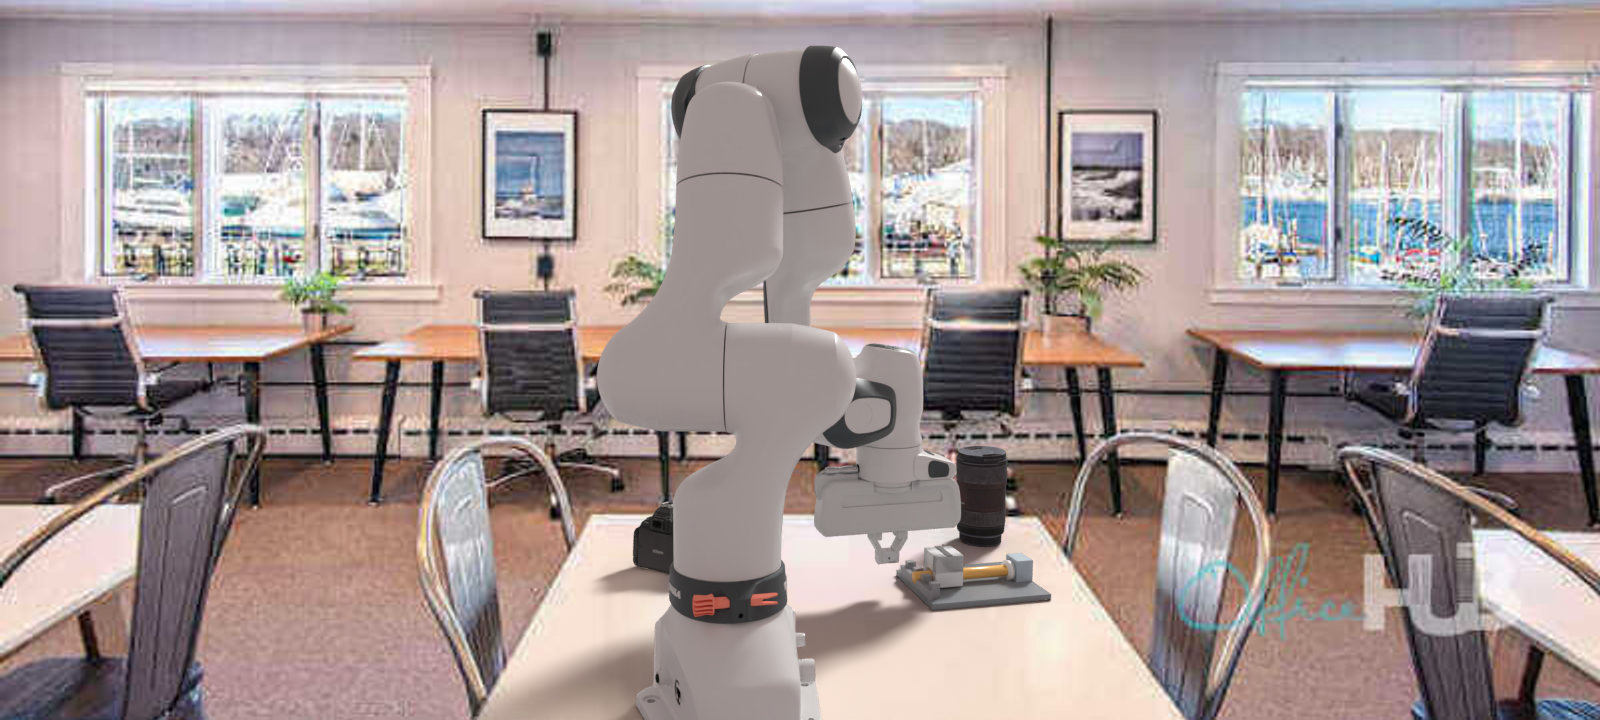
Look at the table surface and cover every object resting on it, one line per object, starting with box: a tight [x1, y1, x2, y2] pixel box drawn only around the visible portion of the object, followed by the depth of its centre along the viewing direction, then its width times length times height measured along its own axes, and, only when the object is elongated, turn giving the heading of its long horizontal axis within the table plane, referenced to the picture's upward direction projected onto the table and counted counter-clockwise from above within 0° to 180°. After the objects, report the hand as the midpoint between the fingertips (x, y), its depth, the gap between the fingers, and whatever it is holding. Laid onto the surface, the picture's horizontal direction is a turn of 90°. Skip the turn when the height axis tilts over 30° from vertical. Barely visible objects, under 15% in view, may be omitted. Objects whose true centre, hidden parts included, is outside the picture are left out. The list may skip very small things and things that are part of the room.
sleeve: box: [923, 545, 965, 588], centre depth 130 cm, size 4×4×4 cm
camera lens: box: [955, 445, 1008, 547], centre depth 152 cm, size 8×8×15 cm
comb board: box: [895, 552, 1052, 611], centre depth 131 cm, size 14×17×4 cm
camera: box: [632, 501, 674, 574], centre depth 138 cm, size 13×10×10 cm
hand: (886, 562), depth 128 cm, fingers closed
